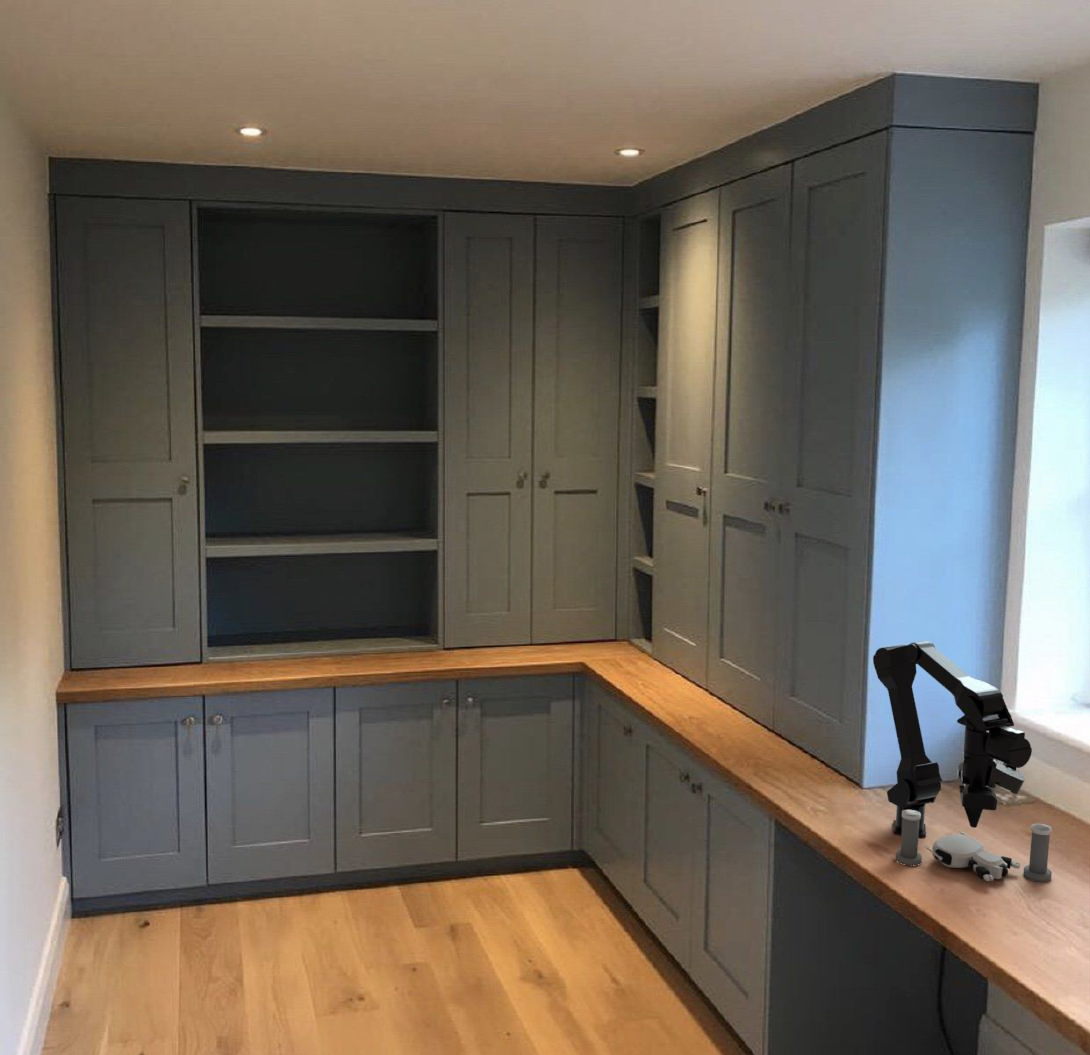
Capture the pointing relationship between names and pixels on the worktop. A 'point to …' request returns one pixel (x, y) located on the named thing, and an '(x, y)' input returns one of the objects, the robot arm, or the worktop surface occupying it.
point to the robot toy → (971, 856)
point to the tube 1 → (909, 839)
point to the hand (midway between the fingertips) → (973, 826)
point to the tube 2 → (1039, 854)
